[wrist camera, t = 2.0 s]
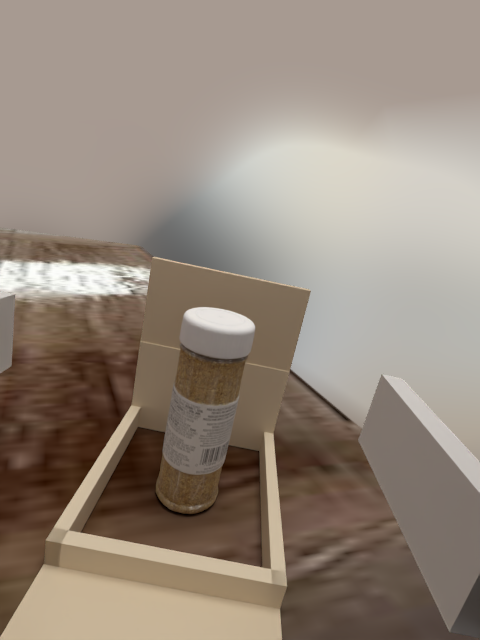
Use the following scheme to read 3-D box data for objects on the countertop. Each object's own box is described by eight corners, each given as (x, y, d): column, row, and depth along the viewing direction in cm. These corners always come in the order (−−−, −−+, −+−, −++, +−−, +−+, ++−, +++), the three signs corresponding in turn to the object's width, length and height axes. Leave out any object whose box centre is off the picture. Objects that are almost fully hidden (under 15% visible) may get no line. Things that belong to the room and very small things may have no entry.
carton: (288, 781, 14) (424, 442, 10) (-46, 721, 14) (-55, 345, 9) (267, 447, 34) (309, 289, 29) (131, 420, 33) (154, 256, 29)
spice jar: (202, 465, 29) (236, 306, 26) (227, 509, 26) (270, 330, 22) (146, 476, 27) (173, 302, 23) (164, 525, 23) (200, 328, 20)
